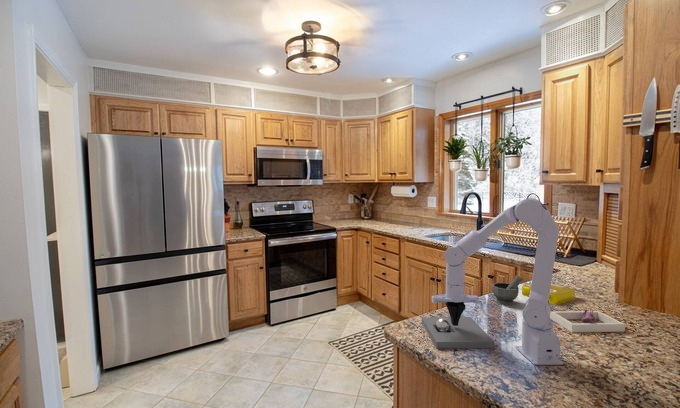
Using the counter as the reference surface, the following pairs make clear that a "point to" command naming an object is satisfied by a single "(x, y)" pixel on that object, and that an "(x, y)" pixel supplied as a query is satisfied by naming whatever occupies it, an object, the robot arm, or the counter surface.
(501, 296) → the mortar and pestle
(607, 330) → the vegetable tray
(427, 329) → the hole board
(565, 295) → the element tile
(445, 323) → the steel ball
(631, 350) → the counter surface
